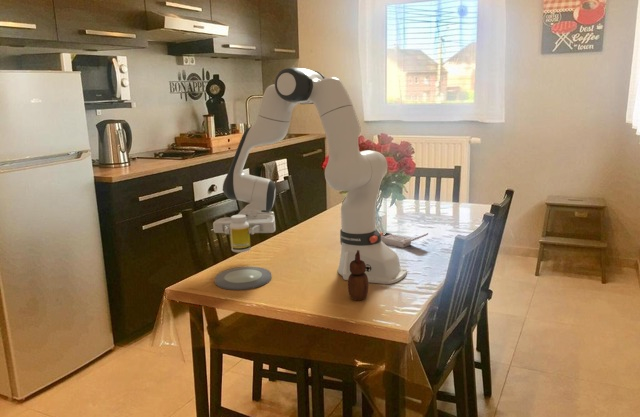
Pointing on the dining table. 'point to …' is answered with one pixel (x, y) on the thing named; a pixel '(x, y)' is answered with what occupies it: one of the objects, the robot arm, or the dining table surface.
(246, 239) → the pill bottle
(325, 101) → the robot arm
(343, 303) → the dining table surface
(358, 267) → the brown squeeze bottle
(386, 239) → the grey brush
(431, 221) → the dining table surface
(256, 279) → the plate
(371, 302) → the dining table surface
